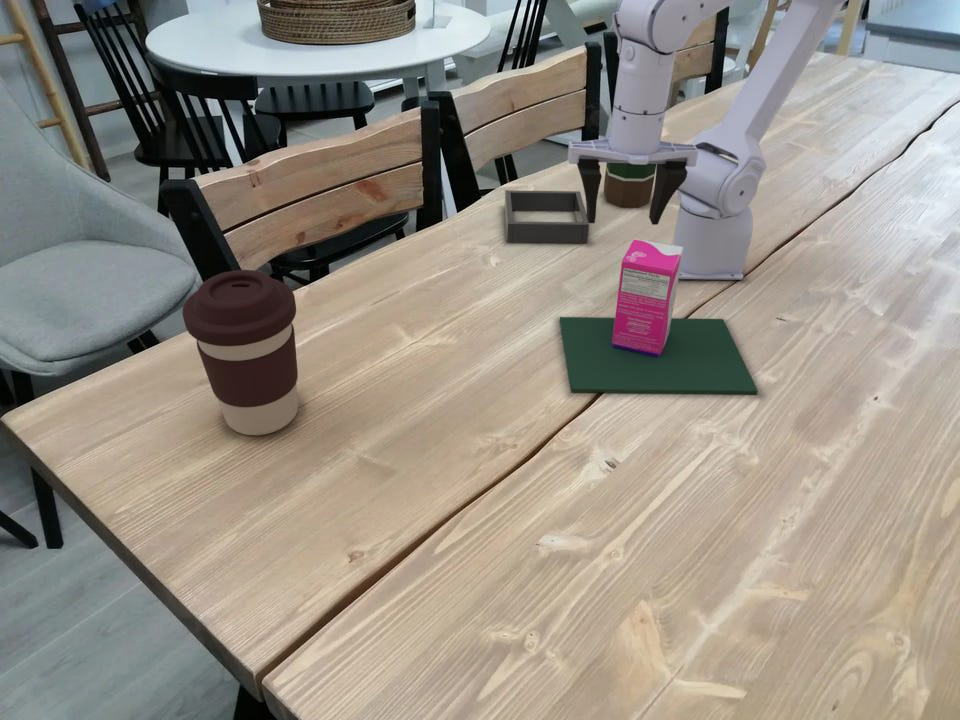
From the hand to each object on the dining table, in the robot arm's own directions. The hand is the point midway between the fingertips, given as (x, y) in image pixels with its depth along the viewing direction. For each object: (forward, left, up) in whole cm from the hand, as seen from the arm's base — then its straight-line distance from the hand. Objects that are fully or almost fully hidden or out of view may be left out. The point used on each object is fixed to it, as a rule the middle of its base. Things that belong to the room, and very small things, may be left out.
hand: (621, 220), depth 89 cm
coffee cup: (+39, +24, -11) cm, 47 cm away
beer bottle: (-7, -30, -11) cm, 32 cm away
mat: (-3, +13, -10) cm, 17 cm away
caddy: (+7, -20, -10) cm, 23 cm away
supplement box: (-2, +11, -10) cm, 15 cm away
